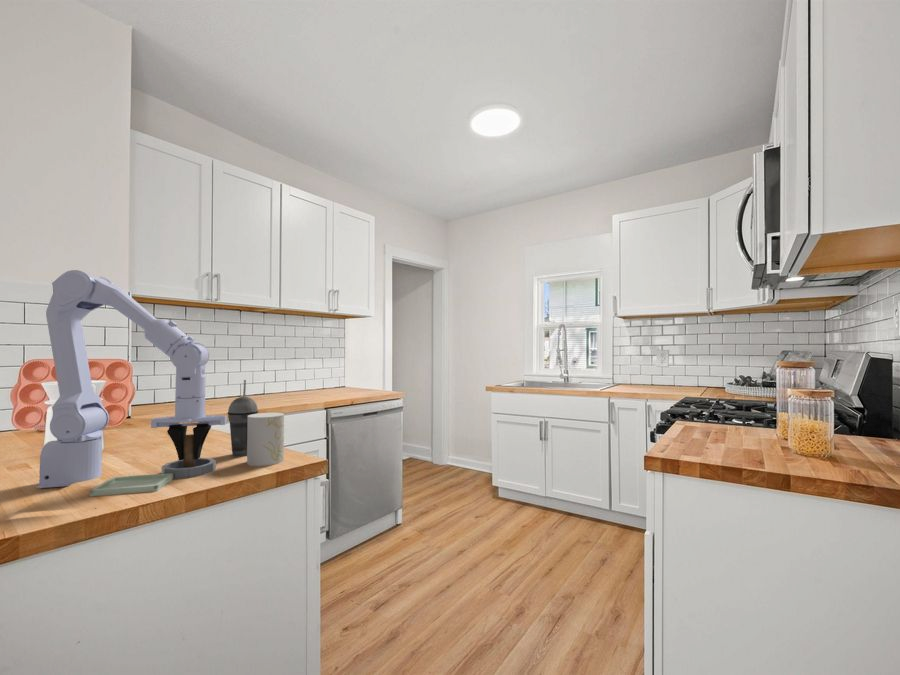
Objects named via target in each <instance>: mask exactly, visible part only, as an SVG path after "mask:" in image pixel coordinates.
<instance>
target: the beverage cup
mask: <svg viewBox="0 0 900 675" xmlns="http://www.w3.org/2000/svg"><path fill="white" fill-rule="evenodd" d="M246 388H247V380H246V379H243V389H242V390H243V392H242V393H243V394H242V395H243V396H240V397H237V398H235V399H234V400H233V401H231V403H230V405H229V407H228V411H227V414H226V415H227V419H228V422H229V429H230V441H231V442H230V444H231V453H232V456H233V457H247V425H248V415H252V414H258V413H259V410H258V409H259V408H258V405H257V403H256V401H255V400H254V399H252V398H250V397H249V396H246V390H247V389H246Z"/></svg>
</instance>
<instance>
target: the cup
mask: <svg viewBox="0 0 900 675" xmlns="http://www.w3.org/2000/svg"><path fill="white" fill-rule="evenodd" d="M284 456H285V413H282V412H261V413H259V412H258V414H252V415H248V425H247V456H246V460H247V461H246V464H247V465H248V466H252V467H268V466H274V465H278V464H281V463H284V460H285V457H284Z"/></svg>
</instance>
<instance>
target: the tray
mask: <svg viewBox="0 0 900 675" xmlns="http://www.w3.org/2000/svg"><path fill="white" fill-rule="evenodd" d="M173 480H174V473H167V474H161V473H155V474H154V473H153V474H141V475H138V474H137V475H125V476H113V477H112V478H110V479H108V480H106V481H104V482H103V483H101V484H99V485H97V486H95V487H93V488H92V489H90V490H89V497H97V496H98V497H99V496H110V495H111V496H112V495H124V494H137V493H149V492H151V493H152V492H159V491H160V490H162V488H164V487H165V486H167V484H168V483H170V482H171V481H173Z"/></svg>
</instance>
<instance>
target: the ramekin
mask: <svg viewBox="0 0 900 675" xmlns="http://www.w3.org/2000/svg"><path fill="white" fill-rule="evenodd" d="M216 469H217V460H216V459H214V458H211V457H200V458H199V459H196V467H190V468H183V460H179V459H177V460H174V461H170V462H166V463H165V464H163V465H161V473H160V474H167V473H174V479H175V480H176V479H186V478H187V479H189V478H195V477H200V476H205V475H208V474H210V473H213V472H214V471H215V470H216ZM174 479H173V480H174Z"/></svg>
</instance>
